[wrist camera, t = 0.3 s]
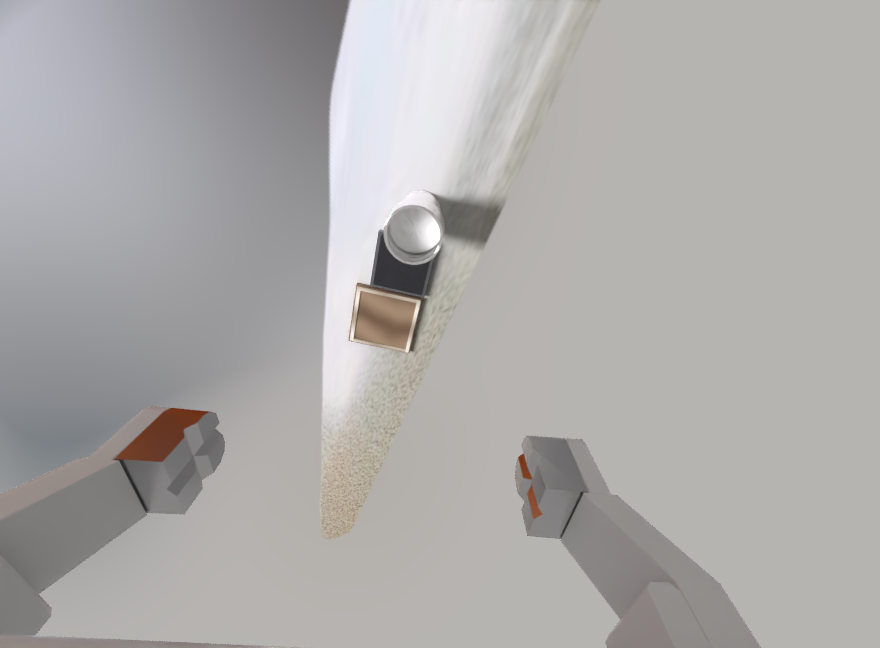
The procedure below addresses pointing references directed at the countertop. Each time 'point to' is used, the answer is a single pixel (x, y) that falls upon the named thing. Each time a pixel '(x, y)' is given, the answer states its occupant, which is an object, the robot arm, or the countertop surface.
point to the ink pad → (398, 272)
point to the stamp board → (384, 318)
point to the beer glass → (415, 228)
